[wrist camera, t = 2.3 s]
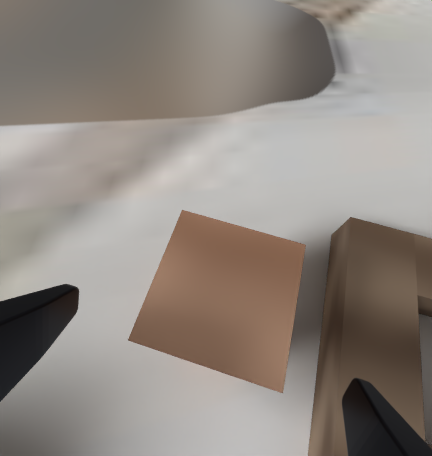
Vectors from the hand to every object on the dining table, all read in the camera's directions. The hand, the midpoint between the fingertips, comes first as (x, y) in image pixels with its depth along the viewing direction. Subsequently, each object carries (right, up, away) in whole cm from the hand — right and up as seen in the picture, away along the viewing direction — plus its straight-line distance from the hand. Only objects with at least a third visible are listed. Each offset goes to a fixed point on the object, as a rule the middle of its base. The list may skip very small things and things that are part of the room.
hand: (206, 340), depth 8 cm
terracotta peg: (0, -3, +9) cm, 10 cm away
